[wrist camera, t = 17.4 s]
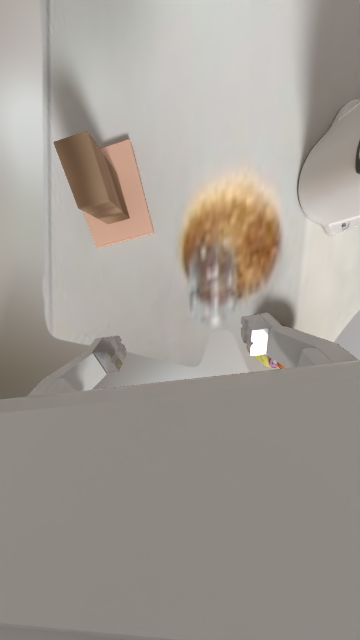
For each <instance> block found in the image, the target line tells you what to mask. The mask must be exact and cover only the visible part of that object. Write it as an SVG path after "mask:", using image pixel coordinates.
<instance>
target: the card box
mask: <svg viewBox="0 0 360 640" xmlns="http://www.w3.org/2000/svg"><path fill="white" fill-rule="evenodd" d="M54 145H55V148H56V150H57V153H58V156H59V158H60V161H61V164H62V166H63V169H64V172H65V174H66V177H67V179H68V182H69V185H70V187H71V190H72V193H73V195H74V198H75V201H76V203H77V206H78V208H79V209H80V210H82V211H84V212H86V213H88V214H90V215H92V216H93V217H95V218H97V219H99V220H101V221H103V222H105V223H106V224H111V223H115V222H119V221H123V220H126V219H130V217H129V213H128V210H127V206H126V203H125V199H124V196H123V192H122V189H121V185H120V182H119V178H118V175H117V172H116V171H115V169H114V168H113V167H112V165H111V164H110V162H109V161H108V160H107V158H106V157H105V155H104V154H103V153H102V151H101V150H100V148H99V147H98V145H97V144H96V143H95V141H94V140H93V138H92V137H91V136H90V134H89V133H88V131H86V132H83V133H80V134H77V135H74V136H71V137H67V138H64V139H61V140H58V141H55V142H54Z"/></svg>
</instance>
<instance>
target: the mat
mask: <svg viewBox="0 0 360 640" xmlns="http://www.w3.org/2000/svg"><path fill="white" fill-rule="evenodd" d="M100 150H101V151H102V153H103V154H104V155H105V157H106V158H107V160H108V161H109V162H110V164H111V165H112V167H113V168H114V169H115V171H116V172H117V175H118V178H119V182H120V185H121V189H122V192H123V196H124V199H125V203H126V206H127V210H128V213H129V217H130V219H126V220H123V221H119V222H115V223H111V224H106V223H105V222H103V221H101V220H99V219H97V218H95V217H93V216H92V215H90V214H88V213H86V212H84V211H83V212H84V215H85V218H86V220H87V223H88V226H89V228H90V231H91V233H92V236H93V239H94V241H95V244H96V247H97V248H102V247H105V246H109V245H113V244H117V243H120V242H124V241H128V240H132V239H136V238H139V237H143V236H147V235H151V234H154V231H153V227H152V223H151V219H150V215H149V211H148V207H147V203H146V199H145V195H144V191H143V187H142V183H141V179H140V175H139V171H138V167H137V163H136V159H135V155H134V151H133V148H132V144H131V141H130V139H128V140H125V141H122V142H119V143H116V144H113V145H110V146H107V147H104V148H100Z"/></svg>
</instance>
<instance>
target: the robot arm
mask: <svg viewBox="0 0 360 640" xmlns="http://www.w3.org/2000/svg"><path fill="white" fill-rule="evenodd" d="M298 193H299V201H300V204H301V207H302V209H303V211H304V213H305V214H306V215H307V216H308V217H309V218H310V219H311V220H313V221H315V222H317V223H319V224H321V225H322V226H323V228H324V230H325V231H326V233H327V234H328V235H330V236H334V235H337V234H340V233H342V232H344V231H347V230H349V229H351V228H354V227H356V226H358V225H360V99H354V100H351V101H349V102H348V103H347V104H346V105H345V106H343V107H342V108H341V110H340V111H339V113H338V114H337V116H336V118H335V120H334V122H333V124H332V126H331V128H330V129H329V130H328V132H327V133H326V134H325V135H324V136H323V137H322V138H321V139H320V140H319V141H318V142H317V144H316V145H315V146H314V147H313V149H312V150H311V152H310V153H309V155H308V157H307V159H306V161H305V163H304V165H303V168H302V171H301V175H300V179H299V187H298ZM341 225H342V227H341ZM241 323H242V325H243V326H242V328H241V336H242V339H243V341H244V343H246V344H247V349H248V351H249V353H250V355H260V354H266V355H267V356H269V357H270V358H272V359H273V360H275V361H276V362H278V363H279V364H281V365H282V366H284V367H285V369H276V370H267V371H258V372H249V373H240V374H231V375H222V376H213V377H203V378H194V379H185V380H176V381H167V382H158V383H149V384H140V385H131V386H122V387H113V388H104V389H95V390H92V388H94V387H95V385H97V384H98V383H99V381H100V380H101V379H102V378H103V377H104V376H105V375H106V374H107V373H113V372H119V370H120V368H121V366H122V362H121V361H122V360H123V359H125V356H126V348H125V346H124V345H123V344H122V343H121V341H122V340H121V338H120V336H110V337H102V338H97V339H95V340H94V342H93V343H92V344H91V345H90V347H89V348H88V349H87V351H86V352H85V353H84V354H83V355H80V356H79V357H77V358H76V359H74V360H73V361H71V362H69V363H68V364H66V365H65V366H63V367H62V368H60V369H59V370H57V371H56V372H54V373H53V374H51V375H49V376H48V377H46V378H45V379H43V380H42V381H41V382H40V383H39V384H38V385H37V386H36V387H35V389H34V390H33V391H32V392H31V393H30V394H29V395H28V396H27V397H22V398H13V399H4V400H0V640H360V360H358V359H357V358H356V357H354V356H353V355H352V354H350V353H349V352H348V351H347V350H345V349H344V348H342V347H341V346H340V345H339V344H336V343H334V342H331V341H328V340H325V339H322V338H319V337H316V336H313V335H310V334H307V333H304V332H301V331H298V330H295V329H292V328H289V327H286V326H284V327H283V326H282V325H281V324H280V323H279V322H278V321H277V320H276V319H275V318H274V317H273V316H272V315H271V314H270V313H268V312H266V313H261V314H256V315H250V316H244V317H242V318H241Z"/></svg>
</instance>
